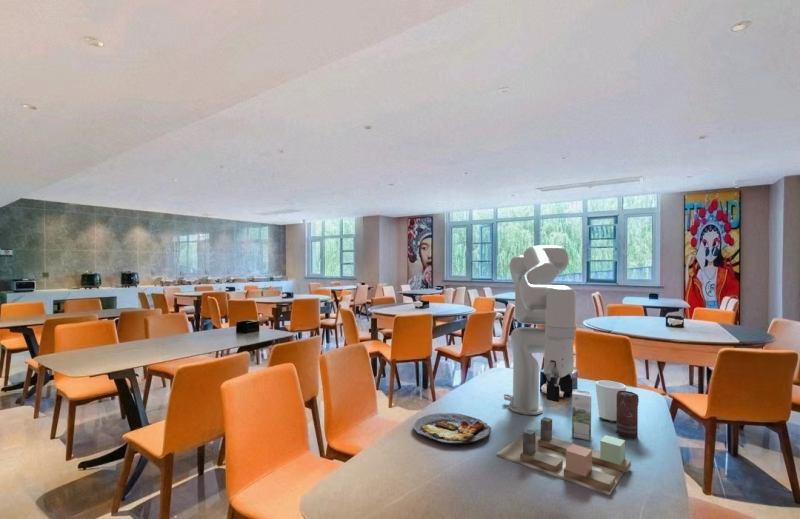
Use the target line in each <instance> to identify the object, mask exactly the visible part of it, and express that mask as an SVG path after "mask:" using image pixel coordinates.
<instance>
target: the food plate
mask: <svg viewBox="0 0 800 519" xmlns="http://www.w3.org/2000/svg"><path fill="white" fill-rule="evenodd" d="M413 428H414V431H416V433H417V434H420V435H422V436H425V437H427V438H429V439H433V440H435V441H439V442H441V443H445V444H452V445H454V444H458V445H460V444H463V445H464V444H470V443H476V442H478V441H481V440H483V439H485V438H488V437H489V436H490V435H491V430H492V427H491V426H490V425H488V424H487V423H486V422H484V421H483V420H482V419H479V418H475V417H472V416H470V415H466V414H462V413H456V412H454V413H453V412H446V413H443V412H442V413H441V412H440V413H439V412H438V413H432V414H427V415H424V416H422V417H420V418H418V419H416V421H415V422H414V424H413Z"/></svg>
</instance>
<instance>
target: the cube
mask: <svg viewBox="0 0 800 519" xmlns="http://www.w3.org/2000/svg"><path fill="white" fill-rule="evenodd" d="M599 442H600V450H599V451H600V459H602V460H605V461H608V462H612V463H615V464H618V465H621V464H622V462H623V461H624V459H626V440H624V439H621V438H617V437H614V436H611V435H606V434H605V435H604V436H603V437H602V438H601V439H600V441H599Z"/></svg>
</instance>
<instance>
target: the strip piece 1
mask: <svg viewBox="0 0 800 519" xmlns="http://www.w3.org/2000/svg"><path fill="white" fill-rule="evenodd" d="M536 432H537V431H536V430H533V429H529V428H527V429H525V430H524V431H523V432H522V435H523V453H521V454H520V460H523V461H526V462H528V463H531V464H534V465H537V466H540V467H543V468H546V469H549V470H551V471H554V472H557V471H558V470H559V469H560V468H561V467H562V466H563V460H562V459H559V458H556V457H553V456H550V455H547V454H544V453H541V452H537V451H535V447H536V436H537V435H536Z"/></svg>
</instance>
